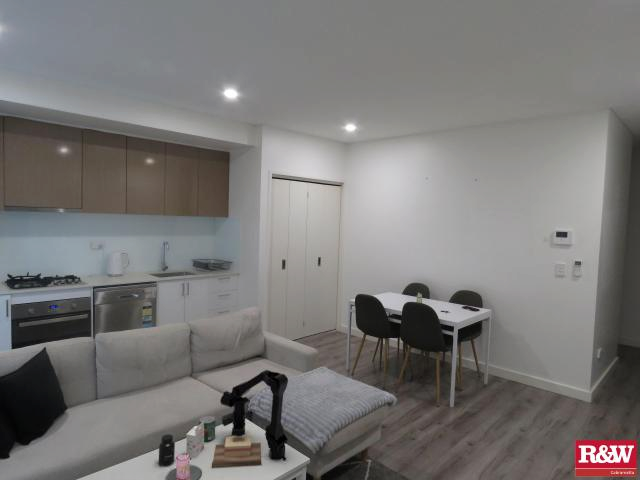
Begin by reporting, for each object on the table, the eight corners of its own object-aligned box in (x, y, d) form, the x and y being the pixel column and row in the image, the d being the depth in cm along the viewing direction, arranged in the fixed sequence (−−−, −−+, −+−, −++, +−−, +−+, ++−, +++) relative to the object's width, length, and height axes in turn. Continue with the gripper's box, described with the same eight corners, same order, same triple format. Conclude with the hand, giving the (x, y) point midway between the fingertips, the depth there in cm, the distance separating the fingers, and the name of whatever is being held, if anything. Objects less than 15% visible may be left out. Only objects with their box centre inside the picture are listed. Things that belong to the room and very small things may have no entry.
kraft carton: (225, 446, 200) (226, 436, 200) (250, 445, 202) (251, 435, 202) (224, 457, 191) (224, 446, 191) (250, 455, 193) (250, 445, 193)
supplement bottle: (167, 468, 183) (167, 442, 182) (155, 464, 185) (155, 438, 185) (177, 460, 189) (178, 434, 189) (165, 456, 192) (166, 431, 191)
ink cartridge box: (194, 448, 199) (195, 419, 198) (204, 450, 198) (204, 420, 197) (185, 458, 191) (186, 427, 190) (195, 460, 190) (196, 429, 189)
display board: (215, 446, 201) (215, 440, 201) (260, 444, 205) (260, 438, 205) (211, 470, 182) (211, 463, 182) (261, 467, 186) (261, 460, 186)
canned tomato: (195, 443, 204) (196, 421, 204) (203, 435, 212) (204, 414, 211) (210, 445, 202) (210, 423, 202) (217, 437, 210) (218, 416, 209)
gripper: (224, 401, 212) (223, 431, 213) (221, 419, 193) (220, 451, 194) (246, 400, 214) (245, 430, 214) (245, 418, 195) (244, 449, 196)
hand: (238, 439), depth 205 cm, fingers closed
